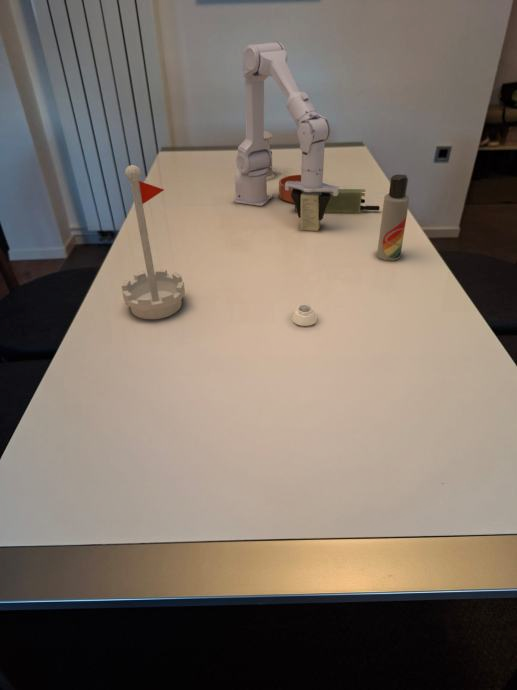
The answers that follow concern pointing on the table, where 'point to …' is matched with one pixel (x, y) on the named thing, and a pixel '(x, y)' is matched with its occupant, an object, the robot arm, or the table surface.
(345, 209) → the handheld radio
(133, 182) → the flag stand
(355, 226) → the table surface
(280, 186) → the bowl
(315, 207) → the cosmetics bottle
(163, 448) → the table surface
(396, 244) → the lotion bottle
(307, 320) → the white jar
